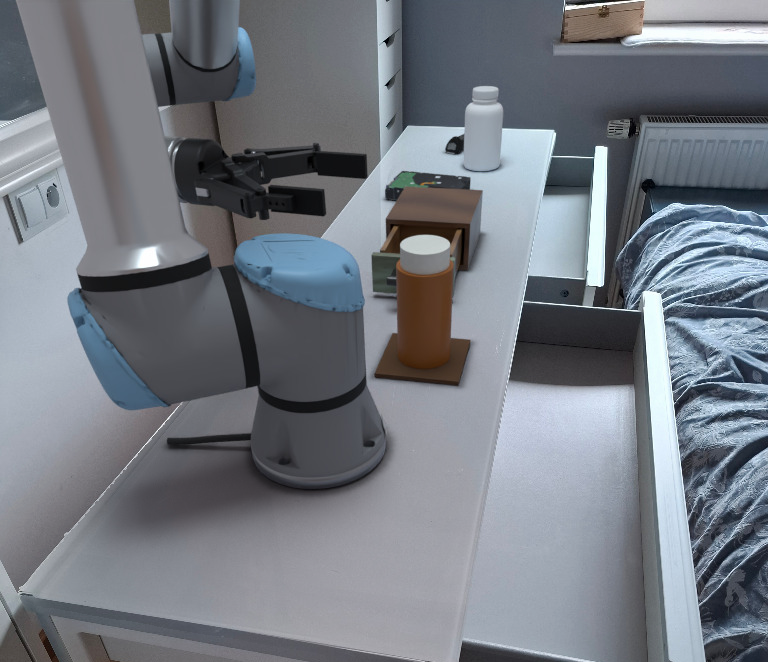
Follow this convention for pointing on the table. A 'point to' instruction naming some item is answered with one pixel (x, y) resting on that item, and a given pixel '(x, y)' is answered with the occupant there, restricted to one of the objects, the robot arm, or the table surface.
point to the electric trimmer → (455, 144)
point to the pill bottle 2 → (483, 130)
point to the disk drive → (424, 182)
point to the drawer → (390, 253)
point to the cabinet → (441, 213)
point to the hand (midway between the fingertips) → (346, 183)
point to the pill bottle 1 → (424, 301)
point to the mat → (441, 375)
